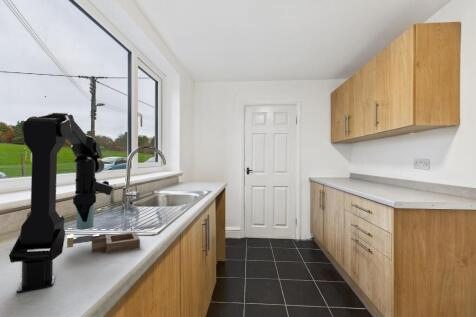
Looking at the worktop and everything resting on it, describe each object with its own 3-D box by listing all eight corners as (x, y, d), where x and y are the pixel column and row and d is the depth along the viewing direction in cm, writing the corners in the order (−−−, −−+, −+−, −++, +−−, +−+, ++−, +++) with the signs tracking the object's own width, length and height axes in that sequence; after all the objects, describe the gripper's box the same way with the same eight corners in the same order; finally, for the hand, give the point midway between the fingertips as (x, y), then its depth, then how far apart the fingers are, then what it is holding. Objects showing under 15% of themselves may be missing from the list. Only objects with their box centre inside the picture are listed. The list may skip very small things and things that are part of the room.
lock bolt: (99, 243, 80) (99, 233, 80) (67, 247, 75) (67, 237, 75) (98, 240, 82) (98, 231, 82) (67, 244, 78) (67, 235, 78)
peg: (93, 228, 85) (93, 202, 85) (76, 230, 83) (76, 203, 83) (93, 224, 89) (93, 199, 89) (76, 226, 87) (77, 200, 87)
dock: (139, 248, 83) (139, 235, 83) (91, 256, 76) (91, 241, 76) (135, 239, 91) (135, 227, 91) (91, 246, 84) (91, 233, 84)
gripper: (113, 176, 82) (113, 223, 82) (110, 173, 98) (109, 212, 98) (73, 177, 76) (72, 227, 76) (76, 173, 92) (75, 215, 92)
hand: (85, 220), depth 86 cm, fingers closed on peg, 5 cm apart
